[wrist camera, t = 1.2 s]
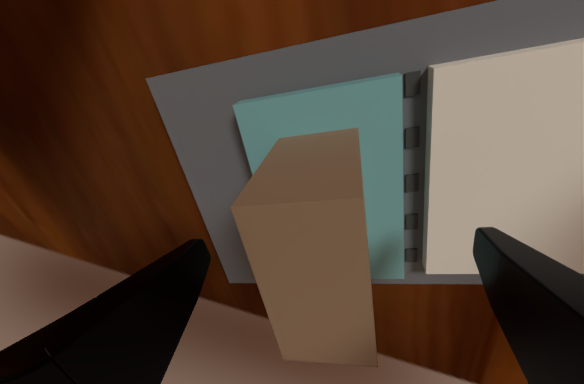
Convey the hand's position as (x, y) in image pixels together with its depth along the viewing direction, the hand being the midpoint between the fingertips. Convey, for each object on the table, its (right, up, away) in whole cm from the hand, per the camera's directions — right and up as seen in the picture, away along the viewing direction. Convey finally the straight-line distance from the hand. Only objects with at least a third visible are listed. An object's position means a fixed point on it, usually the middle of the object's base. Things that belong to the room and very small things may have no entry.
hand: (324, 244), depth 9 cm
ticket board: (+5, +3, +3) cm, 6 cm away
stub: (+1, +2, +3) cm, 4 cm away
